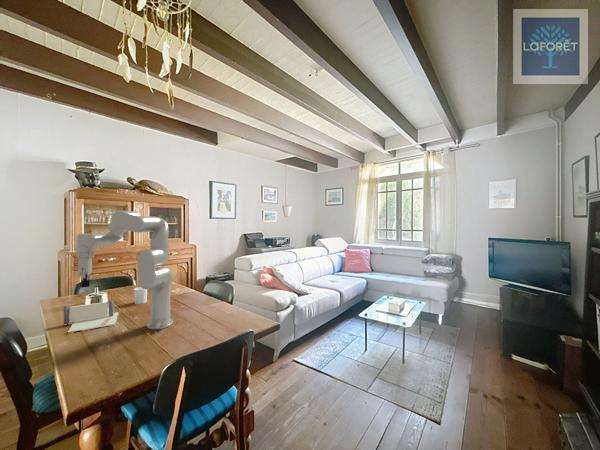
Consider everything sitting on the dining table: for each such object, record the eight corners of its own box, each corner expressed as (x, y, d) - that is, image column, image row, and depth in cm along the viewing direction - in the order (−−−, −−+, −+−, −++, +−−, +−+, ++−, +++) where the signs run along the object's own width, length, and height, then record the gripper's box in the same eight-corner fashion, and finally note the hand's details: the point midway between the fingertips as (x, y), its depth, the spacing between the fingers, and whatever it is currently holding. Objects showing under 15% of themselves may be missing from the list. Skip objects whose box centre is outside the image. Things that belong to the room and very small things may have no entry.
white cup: (150, 301, 169) (150, 286, 169) (141, 305, 162) (141, 290, 161) (139, 300, 170) (139, 286, 170) (130, 304, 162) (130, 289, 162)
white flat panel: (107, 315, 140) (107, 301, 140) (107, 316, 139) (107, 302, 139) (70, 321, 132) (70, 306, 132) (70, 322, 131) (69, 307, 130)
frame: (114, 325, 130) (114, 307, 130) (55, 336, 118) (55, 316, 118) (118, 313, 146) (118, 297, 146) (66, 322, 134) (66, 304, 134)
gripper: (80, 253, 143) (80, 284, 143) (73, 257, 130) (73, 291, 131) (96, 253, 147) (96, 282, 147) (91, 256, 134) (91, 289, 135)
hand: (85, 286), depth 139 cm, fingers closed
